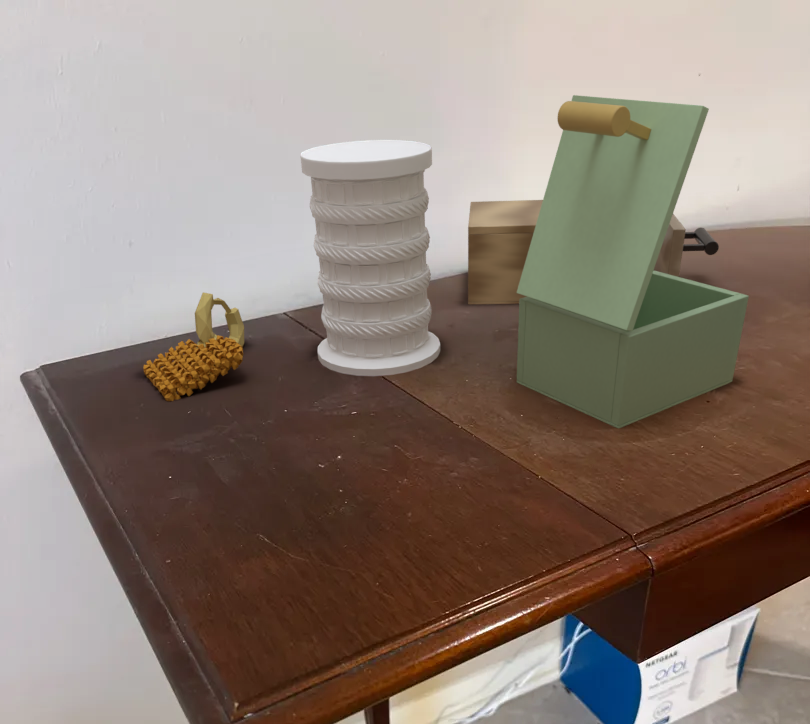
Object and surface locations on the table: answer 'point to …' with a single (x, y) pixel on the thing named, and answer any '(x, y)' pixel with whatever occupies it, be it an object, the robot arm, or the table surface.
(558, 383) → the chest
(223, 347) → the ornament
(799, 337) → the table surface
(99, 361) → the table surface
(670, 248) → the drawer
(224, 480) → the table surface
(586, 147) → the lid
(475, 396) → the table surface
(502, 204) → the cabinet
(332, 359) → the decorative container
